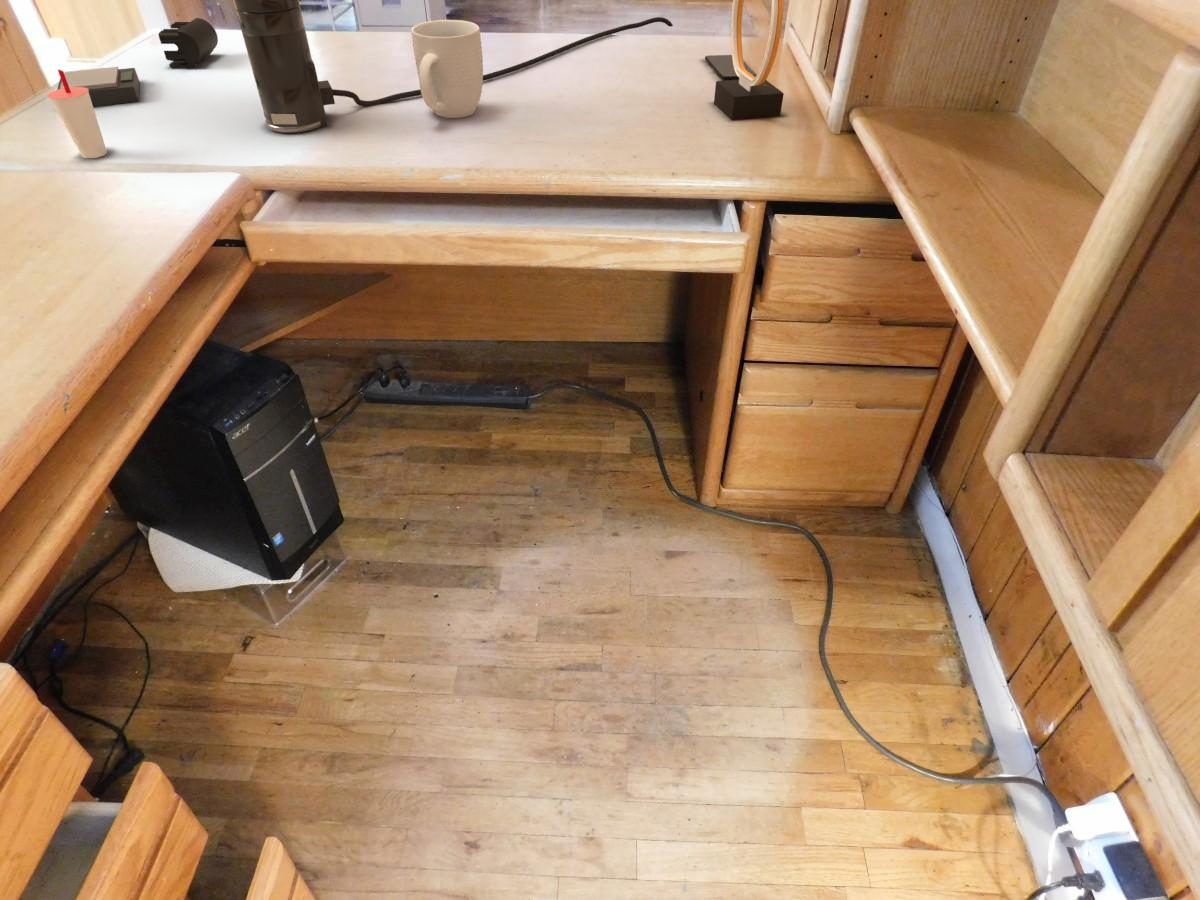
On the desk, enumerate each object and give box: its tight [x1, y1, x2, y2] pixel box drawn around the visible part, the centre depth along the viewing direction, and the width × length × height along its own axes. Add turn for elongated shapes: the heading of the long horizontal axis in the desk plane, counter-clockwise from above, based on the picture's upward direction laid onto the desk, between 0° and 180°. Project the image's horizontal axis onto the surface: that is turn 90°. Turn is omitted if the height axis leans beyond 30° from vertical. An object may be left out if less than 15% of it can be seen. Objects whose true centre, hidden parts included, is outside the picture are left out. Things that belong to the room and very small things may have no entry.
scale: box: [56, 66, 141, 108], centre depth 136 cm, size 12×12×3 cm
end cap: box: [158, 17, 219, 69], centre depth 151 cm, size 10×7×7 cm
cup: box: [46, 69, 108, 159], centre depth 113 cm, size 5×5×12 cm
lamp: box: [713, 0, 785, 121], centre depth 124 cm, size 17×9×32 cm, turn 14°
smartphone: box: [704, 54, 757, 81], centre depth 151 cm, size 7×1×15 cm
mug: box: [410, 19, 484, 119], centre depth 127 cm, size 15×11×13 cm
